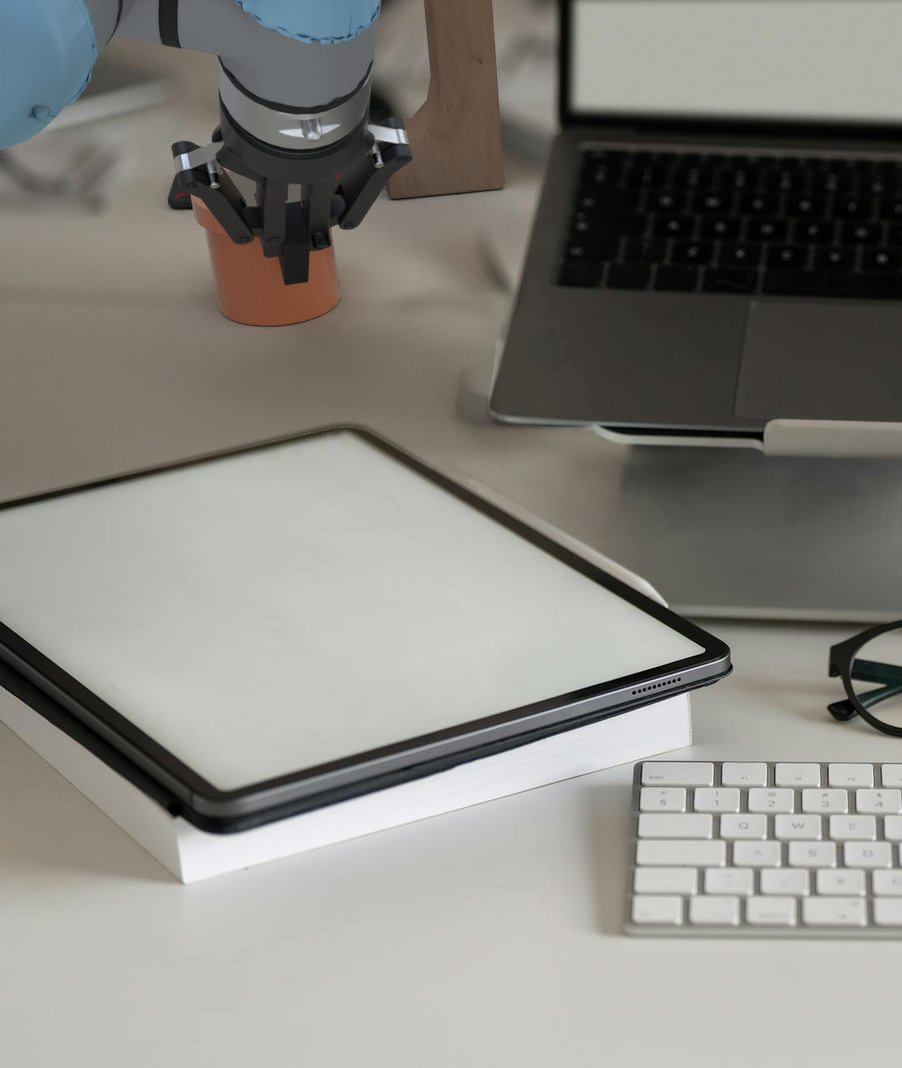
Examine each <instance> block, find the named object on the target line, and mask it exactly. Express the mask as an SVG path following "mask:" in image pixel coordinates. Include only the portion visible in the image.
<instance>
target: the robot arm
mask: <svg viewBox="0 0 902 1068" xmlns="http://www.w3.org/2000/svg"><path fill="white" fill-rule="evenodd" d="M382 2H383V1H382V0H0V150H5V149H8V148H11V147H16V146H18V145H20V144H23V143H24V142H26V141H29V140H30V139H32V138H33V137H35V136H37V135H38V134H40V132H42V131H44V129H46V127H48V125H49V124H50V123H51V122H53V120H54V119H55V118H57V116H58V115H59V114H60V113H61V112H62V111H63V110H64V108H65V107H67V106H70V105H72V104H74V103H75V102H77V100H78V99H79V98H80V96H81V95H82V94H83V93H84V91H85V90H86V88H87V86H88V84H89V83H90V81H91V79H92V74H93V73H92V72H93V69H94V66H95V64H96V62H97V60H98V59H99V57H100V56H101V54H102V52H103V51H104V49H105V48H106V47H107V45H108V44H109V42H111V39H112V38H113V36H115V37H121V38H125V39H131V40H135V41H140V42H145V43H151V44H156V45H161V46H164V47H170V48H177V49H185V50H190V51H195V52H200V53H204V54H210V55H214V56H215V57H216V74H217V75H216V77H217V79H216V80H217V86H218V105H219V118H220V123H219V125H217V126H216V127H215V128H214V129H213V131H212V133H211V143H208V144H207V143H206V144H203V145H201V146H200V145H198V144H197V143H194V142H192V141H189V140H179V141H176V142H174V143H172V144H171V146H170V149H171V152H172V153H171V154H172V157H173V164H174V168H175V174H176V173H177V177H178V182H179V186H180V189H181V190H183V191H185V192H187V193H189V194H191V195H194V196H196V197H198V198H200V199H201V200H202V201H203V202H204V204H205V205H206V206H207V208H208V209H209V210H210V212H211V213H212V214H213V216H214V217H215V218H216V219H217V221H218V222H219V223H220V225H221V226H222V227H223V229H224V230H225V231H226V233H227V234H228V235H229V237H230V238H231V239H232V241H233V242H234V243H236V244H239V245H244V244H247V243H251V242H252V241H254V237H260V242H261V246H262V250H263V255H264V256H265V257H266V258H271V257H278V258H279V262H280V266H281V271H282V275H283V280H284V284H285V285H292V284H299V283H306V282H308V279H309V256H310V252H311V251H318V250H323V249H326V248H328V247H330V246H331V245H332V243H331V239H330V234H329V228H331V229H332V228H333V227H335V226H338V227H339V229H340V230H345V231H346V230H347V231H351V230H354V229H356V228H358V227H359V226H360V225H361V223H362V222H363V220H364V219H365V217H366V215H367V214H368V212H369V211H370V210H371V208H372V207H373V205H374V203H375V202H376V200H377V199H378V197H379V195H380V194H381V193H382V191H383V190H384V188H386V187H385V185H386V184H387V182H388V180H389V179H390V177H391V176H392V174H394V173H395V172H397V171H398V170H399V169H401V168H402V167H404V166H405V165H407V164H408V163H409V162H411V161H412V154H411V150H410V146H409V142H408V138H407V134H406V129H405V125H404V121H403V120H404V119H403V118H402V117H401V116H396V115H395V116H389V117H386V118H384V119H383V120H382V121H380V122H379V123H378V124H372V120H371V117H370V107H371V106H370V105H371V94H372V93H371V91H372V82H373V74H374V73H373V71H374V60H375V54H376V53H375V52H376V44H377V37H378V30H379V23H380V15H381V7H382ZM223 167H224V168H226V169H228V170H230V171H233V172H235V173H237V174H239V175H242V176H244V177H246V178H248V179H251V180H253V181H255V182H256V193H254V196H255V200H256V205H257V207H255V206H247V203H246V200H245V199H244V197H243V196H242V194H241V193H240V191H239V190H238V189H237V187H236V186H235V184H234V183H233V181H232V180H231V178H230V177H229V176H228V174H227V173H226V171H225V170H224V168H223ZM340 172H341V174H340V175H339V177H338V179H337V180H336V182H335V179H336V175H337V174H339V173H340ZM289 184H301V201H298V202H291V203H286V200H288V185H289ZM301 203H302V205H301Z"/></svg>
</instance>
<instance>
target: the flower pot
mask: <svg viewBox="0 0 902 1068" xmlns="http://www.w3.org/2000/svg"><path fill="white" fill-rule="evenodd" d="M226 173H227V174H228V176H229V177H230V178H231V180H232V181H233V183H234V184H235V186H236V187H237V189H238V190H239V191H240V193H241V194H242V196H243V197H244V199H245V200H246V203H247V206H255V207H257V205H256V200H255V196H254V193H256V182H255V181H253V180H251V179H248V178H246V177H244V176H242V175H239V174H237V173H235V172H233V171H230V170H227V171H226ZM191 201H192V207H191V208H192V212H193V218H194V221H195V222H196V223H197V224H198V225H199V226H201V228H203V229H204V234H205V239H206V244H207V250H208V256H209V262H210V267H211V274H212V279H213V285H214V290H215V296H216V303H217V307H218V310H219V312H220V313H221V314H222V315H223V316H224V317H225V318H227V319H229V320H231V321H233V322H237V323H240V324H244V325H250V326H261V327H275V326H276V327H277V326H285V325H293V324H296V323H297V324H299V323H302V322H306V321H307V322H308V321H310V320H313V319H315V318H318V317H320V316H323V315H325V314H327V313H328V312H330V311H331V310H333V309H334V308H335V307H336V306H337V304H338V303H339V301H340V299H341V291H340V285H339V276H338V268H337V262H336V253H335V246H334V237H333V230H332V227H331V228H329V234H330V239H331V243H332V245H331V246H330V247H328V248H326V249H323V250H318V251H311V252H310V256H309V279H308V282H306V283H299V284H292V285H285V284H284V280H283V275H282V271H281V266H280V262H279V258H278V257H271V258H266V257H265V256H264V255H263V250H262V246H261V242H260V237H254V241H252V242H251V243H247V244H244V245H239V244H236V243H234V242H233V241H232V239H231V238H230V237H229V235H228V234H227V233H226V231H225V230H224V229H223V227H222V226H221V225H220V223H219V222H218V221H217V219H216V218H215V217H214V216H213V214H212V213H211V212H210V210H209V209H208V208H207V206H206V205H205V204H204V202H203V201H202V200H201V199H200V198H198V197H196V196H194V195H191ZM298 201H301V184H289V185H288V200H286V203H291V202H298ZM301 205H302V203H301Z"/></svg>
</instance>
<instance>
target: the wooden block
mask: <svg viewBox="0 0 902 1068" xmlns="http://www.w3.org/2000/svg"><path fill="white" fill-rule="evenodd" d="M423 6H424V20H425V29H426V41H427V52H428V62H429V72H430V73H429V74H430V78H429V83H428V90H427V95H426V99H425V101H424V102H423V103H422V104H421V105H420V107H419V108H418V109H417V111H415V112H414V114H413V115H412V116H411V117H409V118H406V119H403V121H404V125H405V129H406V134H407V138H408V142H409V146H410V150H411V154H412V161H411V162H409V163H408V164H407V165H405V166H404V167H402V168H401V169H399V170H398V171H397V172H395V173H394V174H392V176H391V177H390V179H389V180H388V182H387V184H386V185H385V187H384V188H385V189H386V192H387V194H388V196H389V198H390V199H393V200H398V199H399V200H400V199H407V198H408V199H409V198H418V197H428V196H437V195H448V194H449V195H450V194H457V193H469V192H478V191H489V190H490V191H491V190H499V189H503V188H504V186H505V184H506V182H505V170H504V169H505V168H504V167H505V166H504V155H503V140H502V139H503V138H502V126H501V112H500V111H501V110H500V98H499V97H500V96H499V79H498V68H497V67H498V66H497V53H496V52H497V51H496V38H495V26H494V25H495V24H494V8H493V0H423Z"/></svg>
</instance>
